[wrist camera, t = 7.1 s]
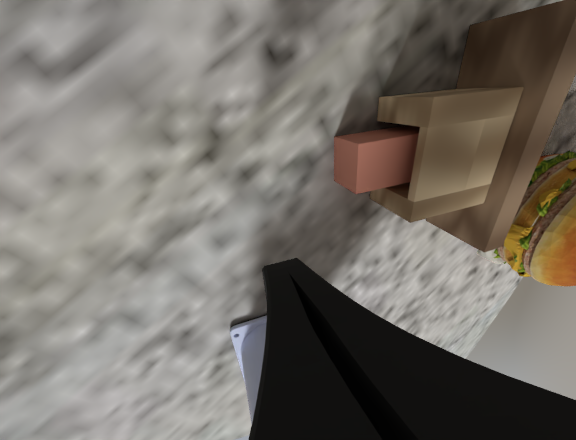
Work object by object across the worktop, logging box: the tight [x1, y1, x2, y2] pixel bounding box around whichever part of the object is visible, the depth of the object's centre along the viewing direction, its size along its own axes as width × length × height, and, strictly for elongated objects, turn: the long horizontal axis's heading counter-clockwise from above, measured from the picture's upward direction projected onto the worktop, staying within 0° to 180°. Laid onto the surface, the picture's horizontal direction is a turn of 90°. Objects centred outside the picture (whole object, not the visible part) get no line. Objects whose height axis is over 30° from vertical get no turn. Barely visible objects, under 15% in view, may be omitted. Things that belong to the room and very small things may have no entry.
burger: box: [477, 150, 576, 286], centre depth 24 cm, size 13×14×10 cm
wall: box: [426, 0, 576, 252], centre depth 19 cm, size 16×2×6 cm, turn 5°
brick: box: [334, 125, 420, 194], centre depth 18 cm, size 3×8×3 cm, turn 95°
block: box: [370, 87, 524, 222], centre depth 18 cm, size 8×7×5 cm
